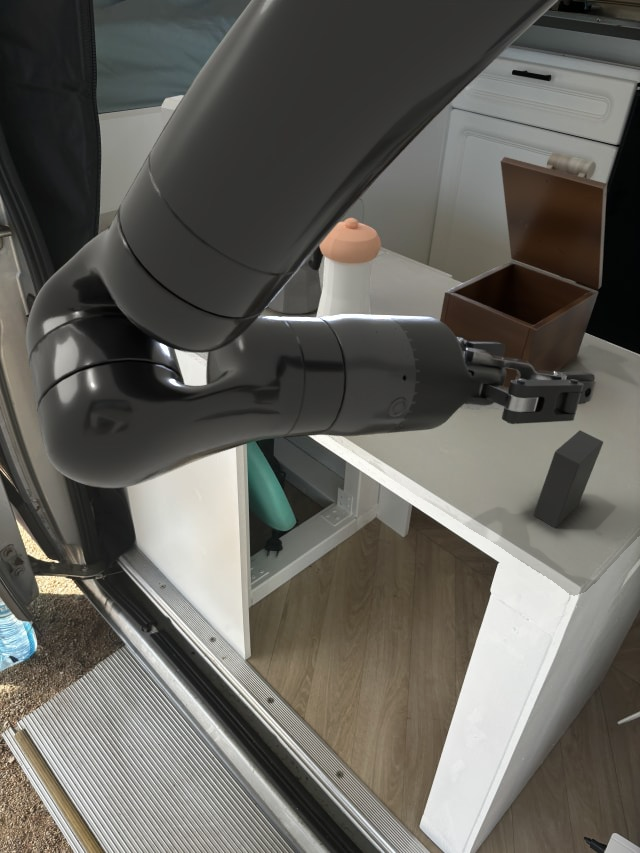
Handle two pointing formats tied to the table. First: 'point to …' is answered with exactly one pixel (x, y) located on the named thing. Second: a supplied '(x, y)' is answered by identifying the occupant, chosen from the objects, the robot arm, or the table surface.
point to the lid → (556, 216)
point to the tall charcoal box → (567, 478)
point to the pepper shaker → (348, 268)
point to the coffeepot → (301, 289)
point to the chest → (522, 314)
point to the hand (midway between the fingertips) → (540, 370)
